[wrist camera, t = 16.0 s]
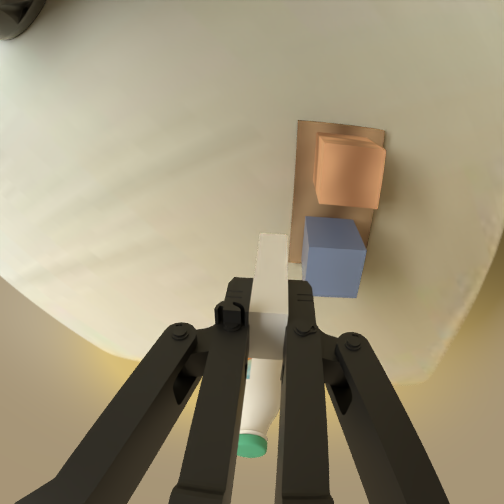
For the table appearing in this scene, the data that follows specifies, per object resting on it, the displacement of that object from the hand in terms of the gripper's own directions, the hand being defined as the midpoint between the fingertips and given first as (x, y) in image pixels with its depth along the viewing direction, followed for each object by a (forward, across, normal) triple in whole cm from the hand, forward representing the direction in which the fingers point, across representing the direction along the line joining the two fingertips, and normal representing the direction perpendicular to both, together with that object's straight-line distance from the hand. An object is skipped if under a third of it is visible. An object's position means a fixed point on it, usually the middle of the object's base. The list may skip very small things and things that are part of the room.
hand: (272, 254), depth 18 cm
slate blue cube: (+19, +6, -9) cm, 22 cm away
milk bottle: (+21, -1, -29) cm, 35 cm away
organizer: (+21, +7, -4) cm, 22 cm away
